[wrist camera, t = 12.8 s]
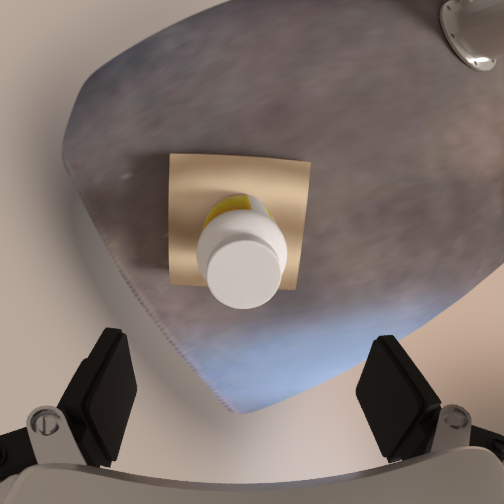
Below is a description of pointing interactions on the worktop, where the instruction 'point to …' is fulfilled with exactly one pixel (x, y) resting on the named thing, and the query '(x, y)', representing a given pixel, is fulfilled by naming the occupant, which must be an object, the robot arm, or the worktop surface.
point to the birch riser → (224, 183)
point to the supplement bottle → (241, 251)
